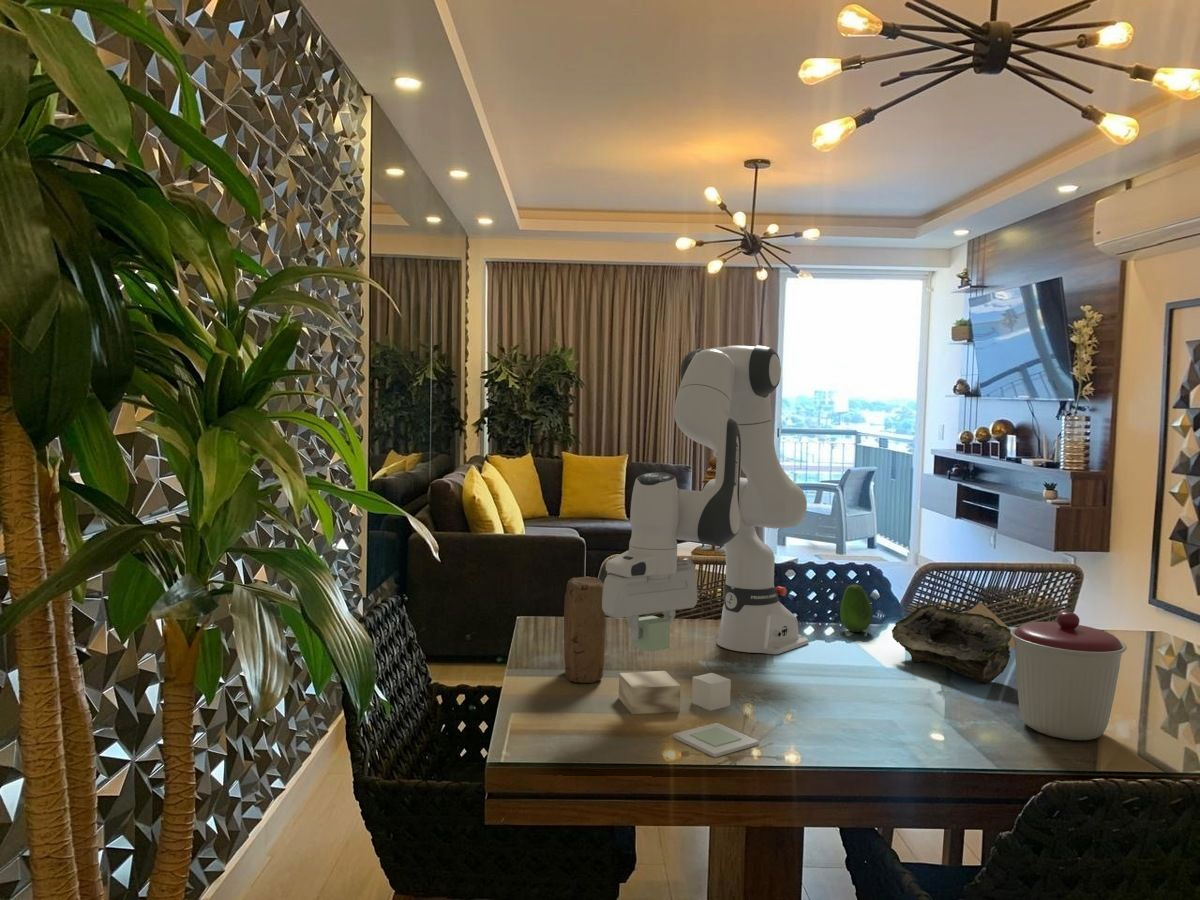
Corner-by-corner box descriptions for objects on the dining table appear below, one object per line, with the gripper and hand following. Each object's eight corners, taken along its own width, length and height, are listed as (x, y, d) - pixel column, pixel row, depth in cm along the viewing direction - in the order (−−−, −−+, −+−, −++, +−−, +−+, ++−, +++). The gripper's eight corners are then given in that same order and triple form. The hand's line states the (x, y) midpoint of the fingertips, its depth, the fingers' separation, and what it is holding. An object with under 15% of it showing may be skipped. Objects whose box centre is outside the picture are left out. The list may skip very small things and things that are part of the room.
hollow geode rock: (1006, 714, 179) (1049, 657, 182) (974, 675, 175) (1018, 617, 178) (909, 670, 205) (948, 621, 208) (879, 635, 201) (919, 585, 204)
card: (716, 726, 155) (716, 721, 154) (759, 744, 146) (759, 739, 146) (672, 737, 149) (673, 732, 149) (714, 757, 141) (714, 752, 141)
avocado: (833, 628, 227) (835, 581, 226) (862, 627, 228) (864, 581, 228) (847, 636, 219) (849, 588, 218) (877, 635, 220) (879, 587, 220)
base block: (664, 696, 170) (664, 670, 170) (679, 712, 162) (680, 685, 161) (618, 699, 168) (619, 673, 168) (632, 715, 159) (632, 688, 159)
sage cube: (651, 641, 168) (652, 615, 167) (669, 648, 164) (670, 621, 163) (631, 645, 165) (631, 618, 164) (648, 651, 161) (649, 624, 160)
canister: (986, 712, 166) (992, 600, 164) (1080, 712, 167) (1086, 601, 166) (1041, 750, 148) (1048, 624, 146) (1145, 750, 149) (1153, 625, 148)
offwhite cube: (711, 698, 169) (712, 672, 169) (729, 706, 165) (730, 679, 165) (691, 703, 166) (692, 676, 166) (709, 711, 162) (710, 684, 162)
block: (605, 684, 176) (608, 584, 175) (567, 685, 174) (570, 584, 173) (595, 668, 186) (598, 573, 185) (560, 669, 185) (562, 574, 184)
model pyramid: (928, 641, 218) (930, 600, 218) (961, 630, 230) (963, 592, 229) (996, 656, 206) (998, 613, 205) (1027, 644, 218) (1029, 604, 217)
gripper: (683, 555, 172) (681, 626, 173) (598, 563, 160) (595, 639, 161) (706, 560, 167) (703, 633, 168) (619, 568, 155) (617, 647, 156)
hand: (650, 636), depth 164 cm, fingers closed on sage cube, 5 cm apart
